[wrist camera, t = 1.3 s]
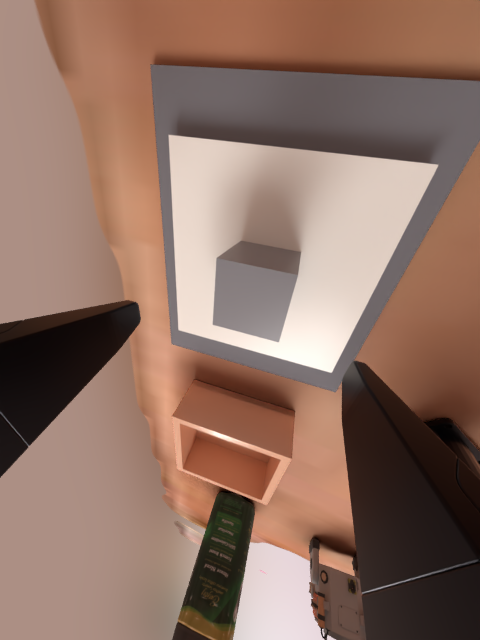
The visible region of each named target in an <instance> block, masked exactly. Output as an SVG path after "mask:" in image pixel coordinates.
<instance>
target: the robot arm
mask: <svg viewBox="0 0 480 640" xmlns="http://www.w3.org/2000/svg"><path fill="white" fill-rule="evenodd" d="M140 320H141V317H140V311H139V305H138V303H136V302H133V301H130V300H126V301H121V302H116V303H110V304H105V305H99V306H94V307H89V308H84V309H78V310H73V311H68V312H62V313H57V314H52V315H46V316H41V317H36V318H30V319H25V320H20V321H14V322H9V323H3V324H0V477H1V476H2V475H3V474H4V473H5V472H6V471H7V470H8V469H9V468H10V467H11V466H12V465H13V463H14V462H15V461H16V460H17V459H18V458H19V457H20V456H21V455H22V454H23V453H24V452H25V451H26V449H27V448H28V446H30V445H31V444H32V442H34V441H35V440H36V439H37V437H38V436H39V435H40V434H41V433H42V432H43V431H44V430H45V429H46V428H47V427H48V426H49V425H50V423H51V422H52V421H53V420H54V419H55V418H56V417H57V416H58V415H59V414H60V412H62V411H63V410H64V408H65V407H66V406H67V405H68V404H69V403H70V402H71V401H72V400H73V399H74V398H75V397H76V396H77V395H78V393H79V392H80V391H81V390H82V389H83V388H84V387H85V386H86V385H87V384H88V383H89V382H90V381H91V380H92V378H93V377H94V376H95V375H96V374H97V373H98V372H99V371H100V370H101V369H102V368H103V367H104V366H105V365H106V363H107V362H108V361H109V360H110V359H111V358H112V357H113V356H114V355H115V354H116V353H117V352H118V350H119V349H120V348H121V347H122V346H123V344H124V343H125V342H126V340H127V339H128V338H129V336H130V335H131V334H132V332H133V331H134V330H135V329H136V327H137V326H138V325H139V323H140ZM342 427H343V436H344V444H345V453H346V462H347V471H348V480H349V489H350V498H351V507H352V516H353V525H354V534H355V543H356V552H357V561H358V569H359V578H360V587H361V593H362V595H361V598H362V607H363V616H364V625H365V634H366V640H480V450H479V449H478V448H477V447H476V446H475V445H474V444H473V443H472V442H471V440H470V439H469V438H468V437H467V436H466V435H465V434H464V433H463V432H462V431H461V429H460V428H459V427H458V426H457V425H456V424H455V423H454V422H453V421H452V420H451V419H446V418H445V419H440V420H436V421H432V422H427V423H424V422H423V421H422V420H421V419H420V418H419V417H418V416H417V415H416V414H415V413H414V412H413V411H412V410H411V409H410V408H409V407H408V406H407V405H406V404H405V403H404V402H403V401H402V400H401V399H400V398H399V397H398V396H397V395H396V394H395V393H394V392H393V391H392V390H391V389H390V388H389V387H388V386H387V385H386V384H385V383H384V382H383V381H382V380H381V379H380V378H379V377H378V376H377V375H376V374H375V373H374V372H373V371H372V370H371V369H370V368H369V367H368V366H367V365H366V364H365V363H362V362H358V361H352V362H351V363H350V365H349V367H348V369H347V370H346V372H345V374H344V376H343V379H342Z"/></svg>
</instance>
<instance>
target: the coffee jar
mask: <svg viewBox="0 0 480 640" xmlns="http://www.w3.org/2000/svg"><path fill="white" fill-rule="evenodd" d="M254 515H255V510H254V506H253V505H252V504H251V503H249V502H248V501H246V500H244V499H243V498H242V497H241V496H239V495H237V494H234V493H223V492H220V493H219V494H218V495H217V496H216V499H215V502H214V505H213V508H212V512H211V515H210V518H209V521H208V525H207V528H206V531H205V534H204V537H203V540H202V544H201V547H200V550H199V553H198V556H197V559H196V563H195V565H194V569H193V572H192V575H191V578H190V582H189V585H188V588H187V591H186V595H185V598H184V601H183V605H182V608H181V612H180V615H179V618H178V623H177V625H176V628H175V632H174V636H173V639H172V640H233V635H234V630H235V624H236V619H237V613H238V607H239V601H240V595H241V590H242V584H243V578H244V572H245V567H246V561H247V555H248V549H249V544H250V539H251V533H252V527H253V521H254Z"/></svg>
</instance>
